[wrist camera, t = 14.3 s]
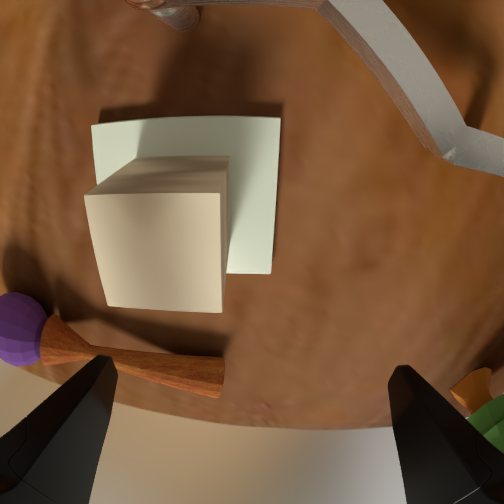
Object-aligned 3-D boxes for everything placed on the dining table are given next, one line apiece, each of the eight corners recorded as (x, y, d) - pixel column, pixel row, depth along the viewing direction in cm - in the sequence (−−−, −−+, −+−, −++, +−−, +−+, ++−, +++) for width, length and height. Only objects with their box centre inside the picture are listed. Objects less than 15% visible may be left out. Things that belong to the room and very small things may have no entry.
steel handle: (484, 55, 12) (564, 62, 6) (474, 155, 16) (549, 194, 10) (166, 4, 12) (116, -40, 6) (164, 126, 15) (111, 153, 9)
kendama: (211, 423, 22) (-10, 365, 18) (213, 362, 27) (13, 313, 23) (228, 398, 19) (-36, 326, 14) (229, 325, 23) (-4, 269, 19)
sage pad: (279, 117, 15) (280, 118, 14) (270, 267, 20) (270, 274, 19) (97, 123, 15) (91, 125, 14) (116, 262, 19) (111, 269, 19)
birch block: (230, 155, 15) (219, 193, 10) (229, 243, 18) (222, 312, 13) (136, 157, 15) (83, 195, 10) (144, 241, 18) (108, 306, 12)
